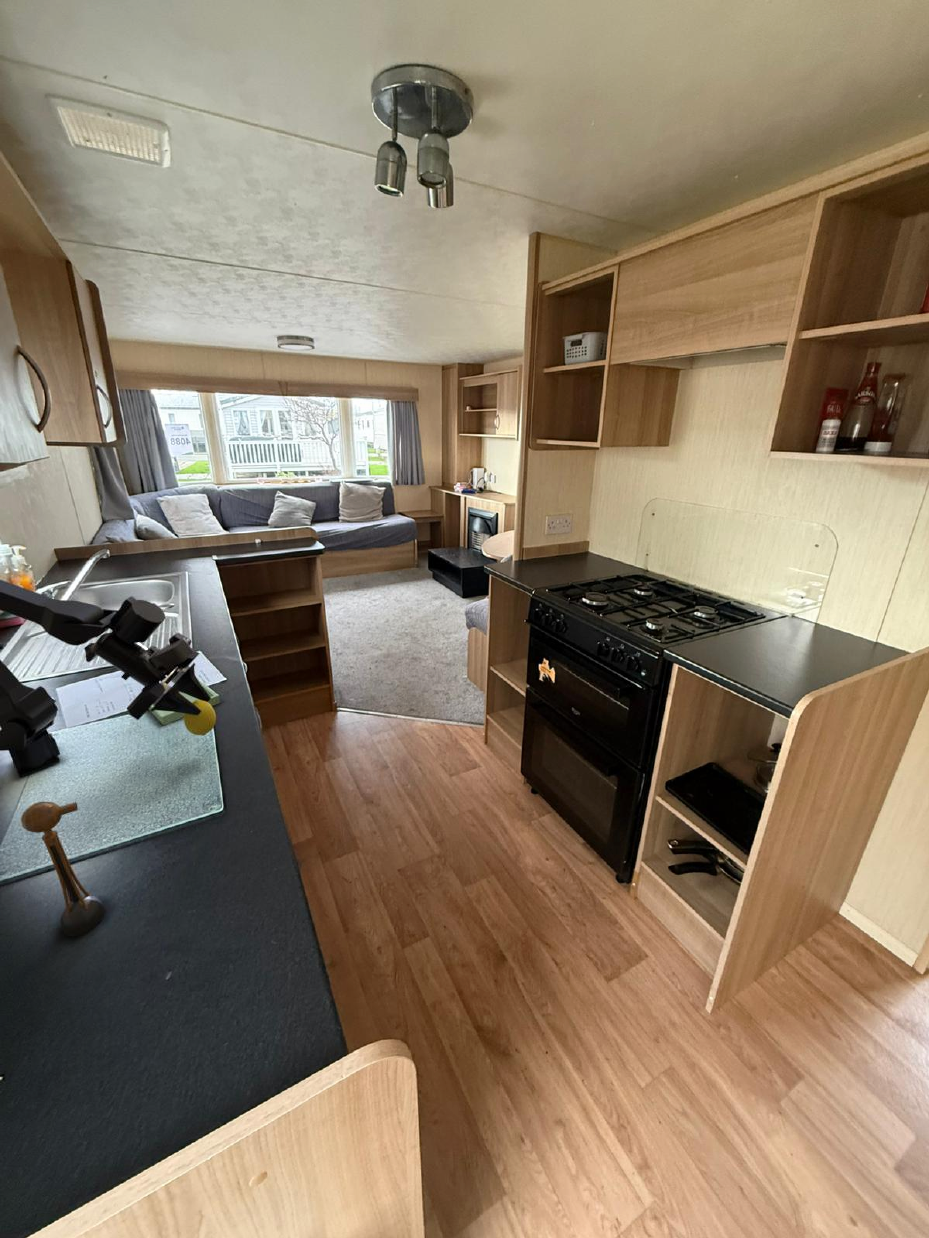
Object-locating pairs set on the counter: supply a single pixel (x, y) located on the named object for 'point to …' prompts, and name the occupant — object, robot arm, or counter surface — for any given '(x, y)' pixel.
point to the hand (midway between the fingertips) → (204, 706)
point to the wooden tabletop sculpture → (64, 868)
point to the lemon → (200, 719)
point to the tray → (170, 716)
